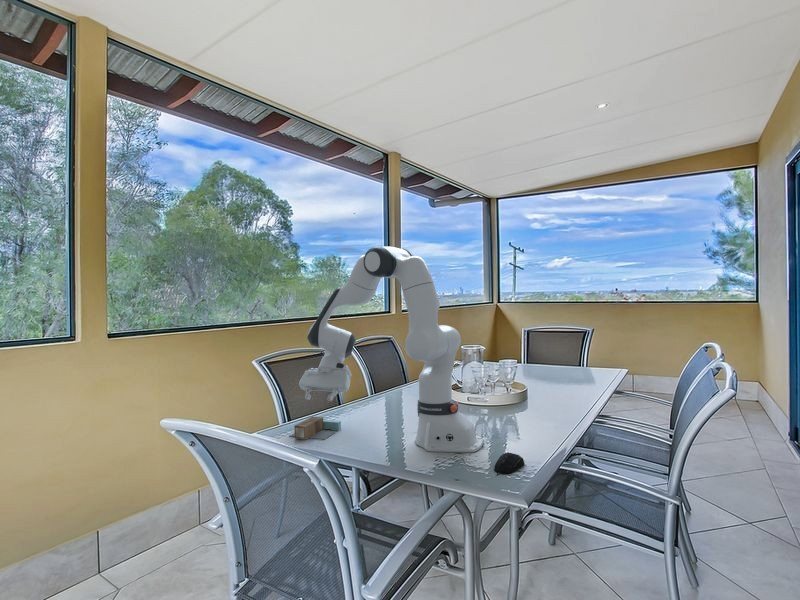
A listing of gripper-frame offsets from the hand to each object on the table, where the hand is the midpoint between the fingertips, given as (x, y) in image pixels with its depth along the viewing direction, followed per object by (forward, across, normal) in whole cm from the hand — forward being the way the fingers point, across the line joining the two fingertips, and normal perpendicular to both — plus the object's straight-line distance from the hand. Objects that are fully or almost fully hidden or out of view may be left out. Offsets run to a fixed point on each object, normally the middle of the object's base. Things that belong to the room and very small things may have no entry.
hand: (318, 399), depth 169 cm
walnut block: (+7, 0, +5) cm, 9 cm away
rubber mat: (+12, +1, +4) cm, 13 cm away
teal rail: (+7, +1, +9) cm, 11 cm away
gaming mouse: (+22, +71, -5) cm, 74 cm away
